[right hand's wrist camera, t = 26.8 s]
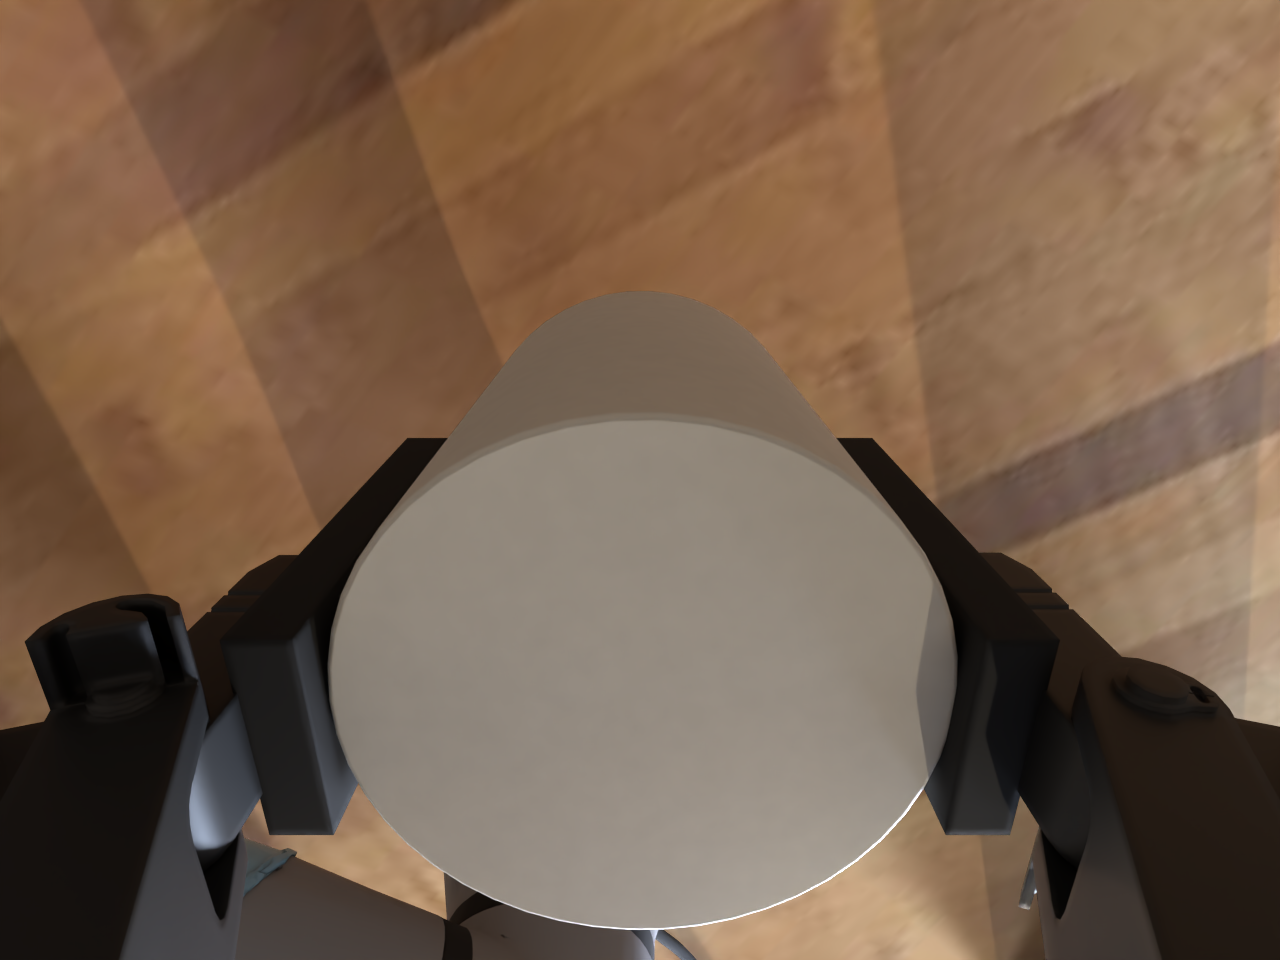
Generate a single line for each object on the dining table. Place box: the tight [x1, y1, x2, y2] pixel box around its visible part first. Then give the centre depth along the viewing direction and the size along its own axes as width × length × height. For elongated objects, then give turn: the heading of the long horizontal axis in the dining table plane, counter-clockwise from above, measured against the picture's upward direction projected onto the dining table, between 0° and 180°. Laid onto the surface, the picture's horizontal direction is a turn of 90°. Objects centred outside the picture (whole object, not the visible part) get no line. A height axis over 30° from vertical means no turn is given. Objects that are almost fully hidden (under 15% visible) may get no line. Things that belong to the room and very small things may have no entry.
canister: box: [327, 291, 958, 930], centre depth 12 cm, size 7×7×9 cm
